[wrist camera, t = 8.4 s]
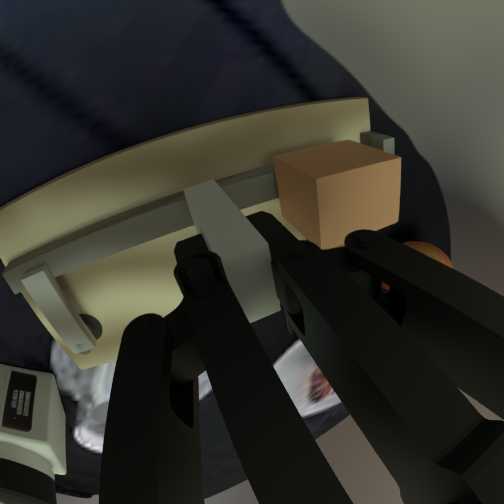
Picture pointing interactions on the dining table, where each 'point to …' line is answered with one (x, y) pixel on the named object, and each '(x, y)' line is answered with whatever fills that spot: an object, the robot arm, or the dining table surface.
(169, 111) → the dining table surface
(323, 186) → the block
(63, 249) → the board
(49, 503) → the container
